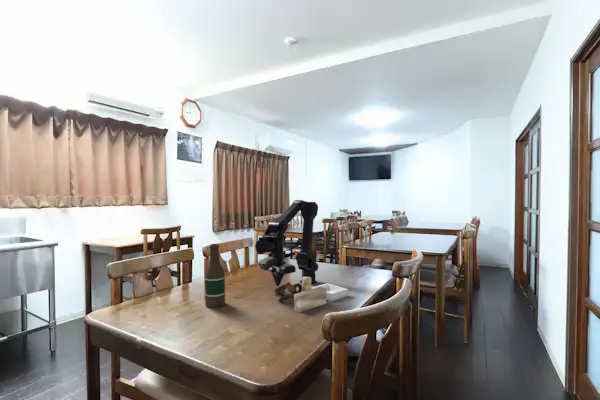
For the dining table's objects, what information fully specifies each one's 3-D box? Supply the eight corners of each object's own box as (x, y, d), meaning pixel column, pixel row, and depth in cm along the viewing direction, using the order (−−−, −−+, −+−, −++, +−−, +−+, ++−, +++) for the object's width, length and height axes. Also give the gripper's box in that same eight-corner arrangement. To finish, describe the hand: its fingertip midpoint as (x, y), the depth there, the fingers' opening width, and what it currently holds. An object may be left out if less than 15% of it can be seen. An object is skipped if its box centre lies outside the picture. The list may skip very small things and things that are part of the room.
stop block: (294, 310, 116) (294, 294, 116) (321, 301, 125) (320, 286, 125) (299, 312, 114) (299, 296, 114) (326, 303, 123) (326, 288, 123)
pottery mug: (286, 307, 121) (277, 287, 122) (277, 311, 128) (268, 292, 130) (310, 293, 127) (300, 275, 129) (300, 298, 135) (291, 280, 137)
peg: (300, 291, 139) (300, 277, 139) (307, 289, 142) (307, 276, 142) (306, 293, 136) (306, 279, 136) (313, 291, 139) (313, 277, 139)
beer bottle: (229, 302, 126) (228, 243, 125) (218, 309, 118) (217, 246, 118) (212, 300, 128) (211, 242, 128) (201, 307, 121) (199, 245, 121)
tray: (311, 294, 134) (311, 287, 134) (327, 289, 140) (327, 283, 140) (331, 301, 125) (331, 294, 125) (348, 296, 131) (348, 289, 131)
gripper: (249, 249, 137) (250, 285, 137) (274, 255, 123) (275, 295, 123) (270, 246, 144) (271, 280, 144) (296, 252, 130) (296, 289, 130)
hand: (277, 286), depth 135 cm, fingers closed
